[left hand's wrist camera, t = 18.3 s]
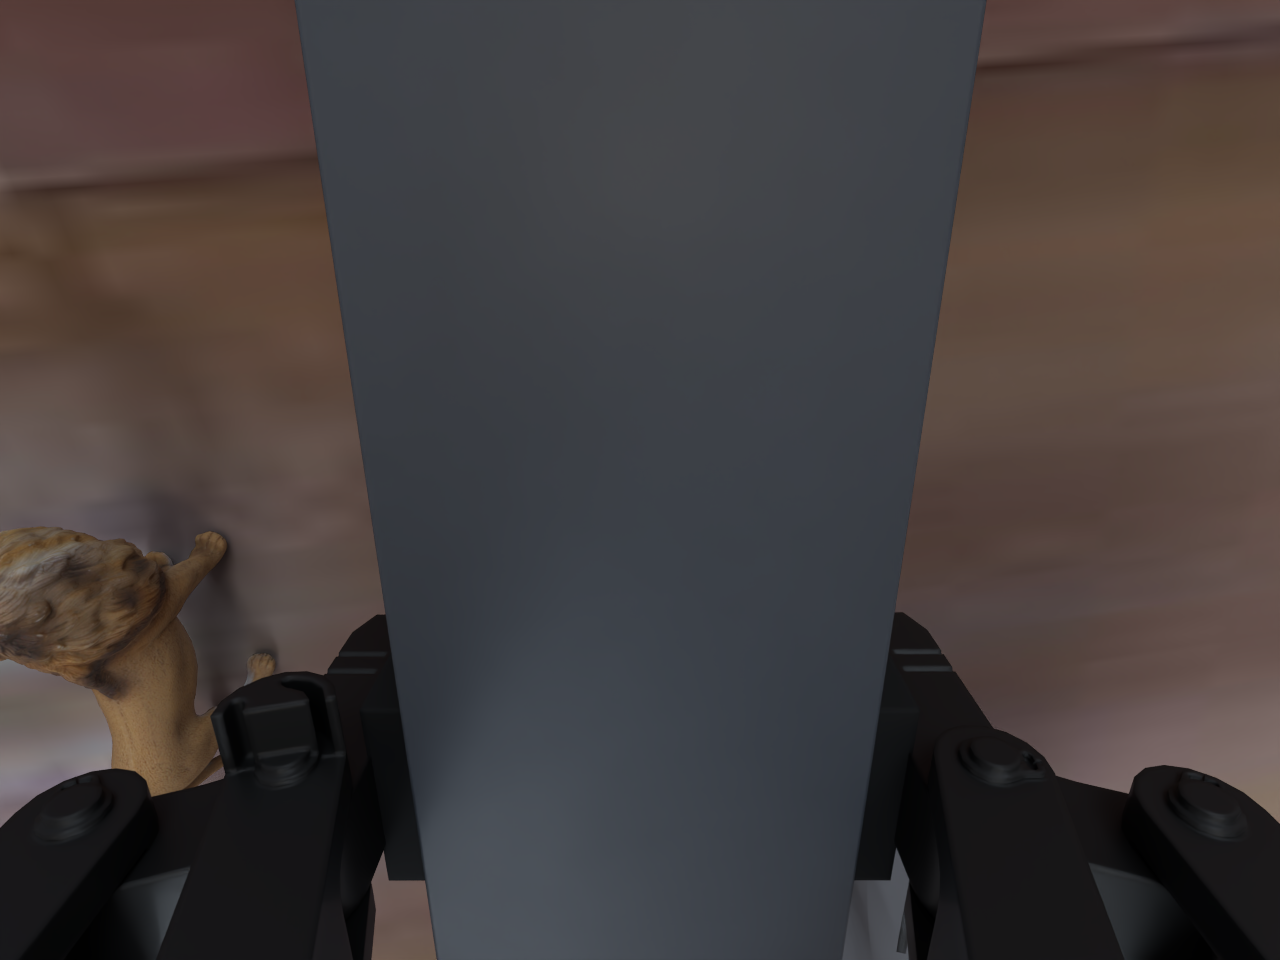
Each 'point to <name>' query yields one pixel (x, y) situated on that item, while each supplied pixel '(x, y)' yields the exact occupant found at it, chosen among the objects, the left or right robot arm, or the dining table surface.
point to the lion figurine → (117, 641)
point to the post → (640, 438)
